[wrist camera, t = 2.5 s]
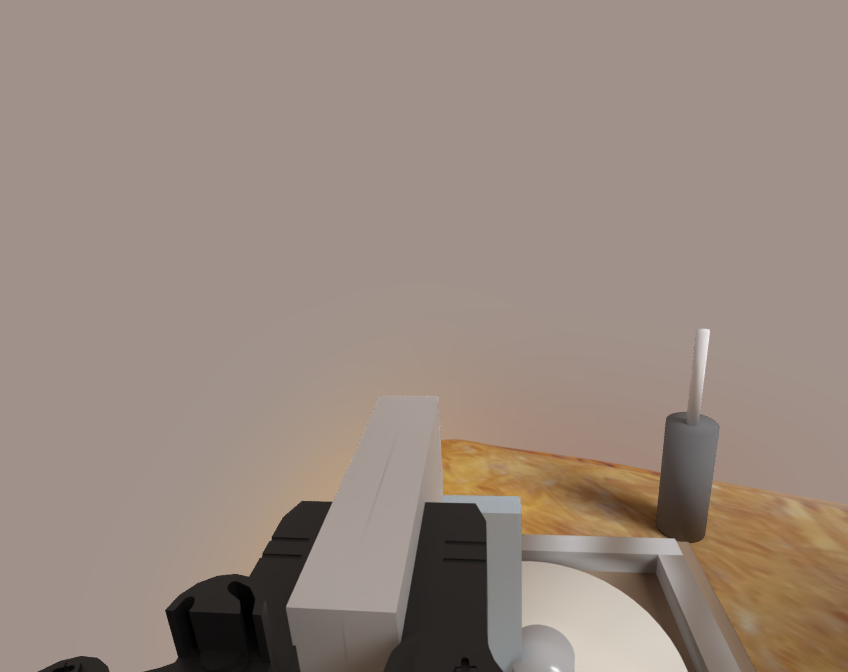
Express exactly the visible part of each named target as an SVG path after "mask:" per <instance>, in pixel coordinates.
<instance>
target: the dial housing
mask: <svg viewBox="0 0 848 672" xmlns="http://www.w3.org/2000/svg"><path fill="white" fill-rule="evenodd" d="M522 561H534V562H546V563H551V564H557V565H562V566H566V567H569V568H573V569H576V570H579V571H582V572H585V573H587V574H590V575H592V576H594V577H596V578H598V579H601V580H603V581H605V582H607V583H608V584H610V585H612V586H613V587H615V588H617V589H619V590H620V591H622V592H623V593H624V594H626V595H627V596H629V597H630V598H631V599H633V600H634V601H635V602H636V603H637V604H639V605H640V606H641V607H642V608H643V609H644V610H646V611H647V612H648V613H649V614H650V615H651V617H652V618H653V619H654V620H655V621H656V622H657V623H658V624H659V625H660V626H661V628H662V629H663V630H664V631H665V633H666V634H667V635H668V637H669V638H670V639H671V641H672V642H673V644H674V646H675V647H676V649H677V651H678V652H679V654H680V656H681V658H682V660H683V662H684V664H685V666H686V669H687V671H688V672H757V671H756V669H755V668H754V666H753V664H752V662H751V660H750V658H749V656H748V654H747V652H746V650H745V649H744V647H743V645H742V643H741V641H740V639H739V637H738V635H737V633H736V631H735V630H734V628H733V626H732V624H731V622H730V620H729V618H728V616H727V614H726V613H725V611H724V609H723V607H722V605H721V603H720V601H719V599H718V597H717V595H716V594H715V592H714V590H713V588H712V586H711V584H710V582H709V580H708V578H707V576H706V575H705V573H704V571H703V569H702V567H701V565H700V563H699V561H698V559H697V558H696V556H695V554H694V552H693V550H692V548H691V546H690V544H689V542H676V540H675V539H672V538H635V537H598V536H561V535H524V534H522Z"/></svg>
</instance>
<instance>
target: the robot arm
mask: <svg viewBox="0 0 848 672" xmlns="http://www.w3.org/2000/svg"><path fill="white" fill-rule="evenodd" d="M439 416H440V414H439V396H380V397H379V399H378V401H377V404H376V406H375V408H374V410H373V413H372V415H371V417H370V420H369V422H368V424H367V426H366V428H365V431H364V433H363V435H362V437H361V440H360V442H359V444H358V447H357V449H356V451H355V453H354V455H353V457H352V460H351V462H350V464H349V467H348V469H347V471H346V473H345V475H344V478H343V480H342V482H341V485H340V487H339V489H338V491H337V493H336V496H335V498H334V500H333V502H319V501H302V502H300V503H299V504H298V505H297V506H296V507H294V508H293V509H292V510H291V511H290V512H289V513H287V514H286V515H285V516H284V517H283V518H282V520H281V522H280V523H279V525H278V527H277V529H276V531H275V532H274V534H273V536H272V540H271V541H269V543H268V545H267V547H266V548H265V550H264V552H263V555H262V558H260V559H259V561H258V562H257V564H256V566H255V568H254V569H253V571H252V573H251V575H250V576H249V577H247V576H243V575H238V574H232V575H221V576H216V577H213V578H210V579H208V580H205V581H202V582H200V583H197V584H196V585H194V586H193V587H191V588H190V589H188V590H186V591H185V592H183V593H182V594H180V595H179V596H178V597H177V598H176V599H175V600H174V601H173V602H172V603H171V605H170V606H169V607H168V608H167V609H166V610H165V611H166V615H167V618H168V622H169V625H170V629H171V632H172V636H173V640H174V643H175V647H176V651H177V654H178V659H177V660H176V662H175V663H173V664H170V665H167V666H164V667H161V668H157V669H153V670H149V671H145V672H503V671H502V669H501V668H500V667H499V665H498V664H497V663H496V661H495V660H494V658H493V656H492V653H491V651H490V649H489V645H488V574H487V527H486V520H485V518H484V516H483V515H482V513H481V511H480V510H479V508H478V506H477V505H476V503H442V495H443V472H442V453H441V435H440V417H439ZM38 672H109V669H108V666H106V664H104V663H103V662H102V661H101V660H99V659H98V658H94V657H85V656H79V657H75V658H71V659H67V660H62V661H59V662H57V663H55V664H53V665H51V666H49V667H47V668H45V669H43V670H41V671H38Z"/></svg>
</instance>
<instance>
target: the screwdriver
mask: <svg viewBox="0 0 848 672" xmlns="http://www.w3.org/2000/svg"><path fill="white" fill-rule="evenodd" d="M709 335H710V330H708V329H703V328H700V329H697V330H696V338H695V347H694V356H693V365H692V374H691V382H690V392H689V400H688V410H687V412H678V413H674V414H671V415H669V416H668V417H667V418H666V426H665V436H664V446H663V456H662V466H661V476H660V487H659V497H658V507H657V517H656V525H657V528H658V529H659V531H660V532H661V533H663V534H664V535H665V536H667V537H669V538H672V539H675V540H676V541H679V542H689V543H693V542H698V541H700V540H702V539H703V538H704V536H705V531H706V524H707V516H708V509H709V502H710V494H711V487H712V480H713V472H714V465H715V457H716V450H717V443H718V436H719V428H720V427H719V424H718V423H717V422H716V421H715V420H713V419H711V418H709V417H707V416H704V415H701V414H700V408H701V400H702V392H703V383H704V376H705V367H706V359H707V351H708V343H709Z"/></svg>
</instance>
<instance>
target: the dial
mask: <svg viewBox="0 0 848 672" xmlns="http://www.w3.org/2000/svg"><path fill="white" fill-rule="evenodd" d="M442 503H476V505H477V506H478V508H479V510H480V511H481V513H482V515H483V516H484V518H485V520H486V527H487V574H488V645H489V649H490V651H491V653H492V656H493V658H494V660H495V661H496V663H497V664H498V665H499V667H500V668H501V669H502V671H503V672H688V671H687V669H686V666H685V664H684V662H683V660H682V658H681V656H680V654H679V652H678V651H677V649H676V647H675V646H674V644H673V642H672V641H671V639H670V638H669V637H668V635H667V634H666V633H665V631H664V630H663V629H662V628H661V626H660V625H659V624H658V623H657V622H656V621H655V620H654V619H653V618H652V617H651V615H650V614H649V613H648V612H647V611H646V610H644V609H643V608H642V607H641V606H640V605H639V604H637V603H636V602H635V601H634V600H633V599H631V598H630V597H629V596H627V595H626V594H624V593H623V592H622V591H620V590H619V589H617V588H615V587H613V586H612V585H610V584H608V583H607V582H605V581H603V580H601V579H598V578H596V577H594V576H592V575H590V574H587V573H585V572H582V571H579V570H576V569H573V568H569V567H566V566H562V565H557V564H551V563H546V562H534V561H522V513H521V503H520V497H519V496H462V495H442Z"/></svg>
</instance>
